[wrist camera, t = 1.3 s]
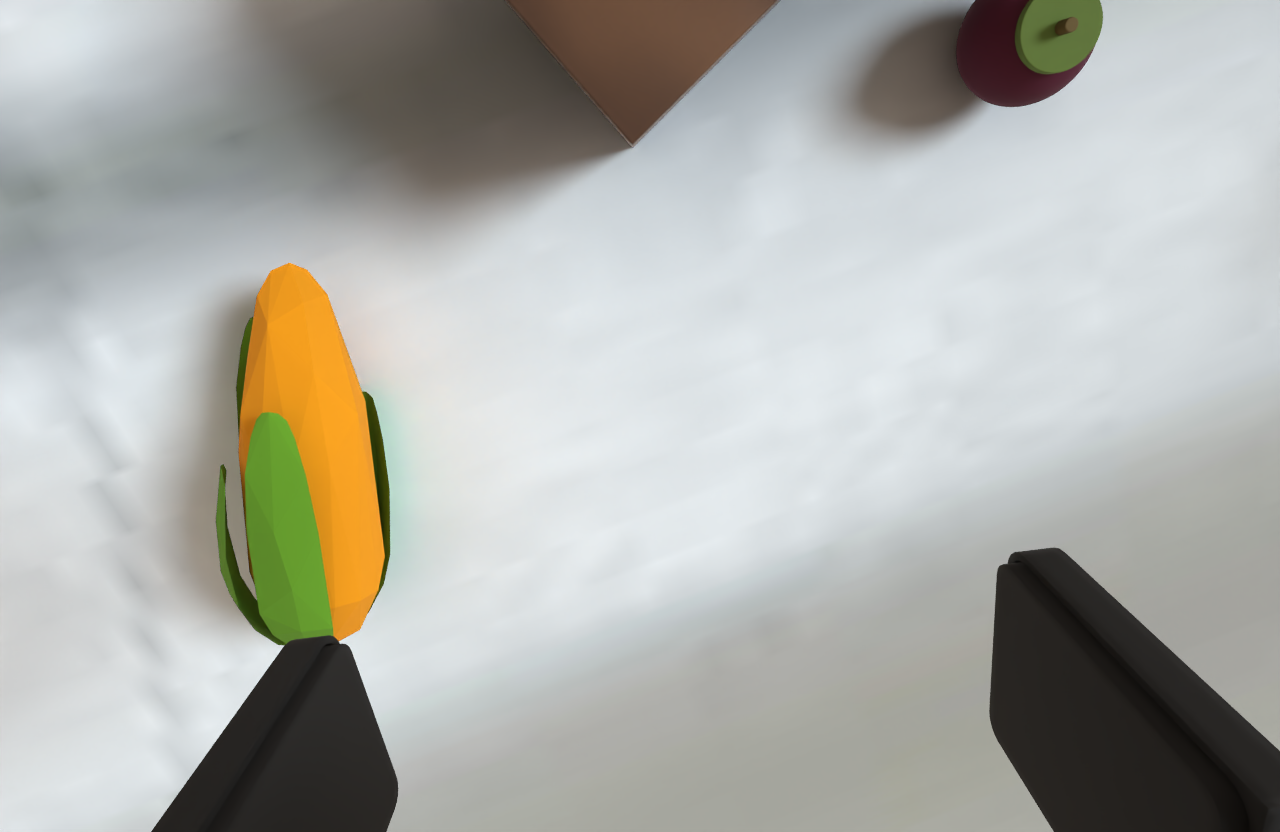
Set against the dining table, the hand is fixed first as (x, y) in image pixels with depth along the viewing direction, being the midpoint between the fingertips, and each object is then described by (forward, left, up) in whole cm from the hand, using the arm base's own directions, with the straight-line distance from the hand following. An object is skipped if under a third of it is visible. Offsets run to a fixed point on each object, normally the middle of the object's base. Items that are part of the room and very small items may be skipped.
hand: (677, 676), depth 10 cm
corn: (-6, -17, -26) cm, 32 cm away
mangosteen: (+2, +19, -26) cm, 32 cm away
